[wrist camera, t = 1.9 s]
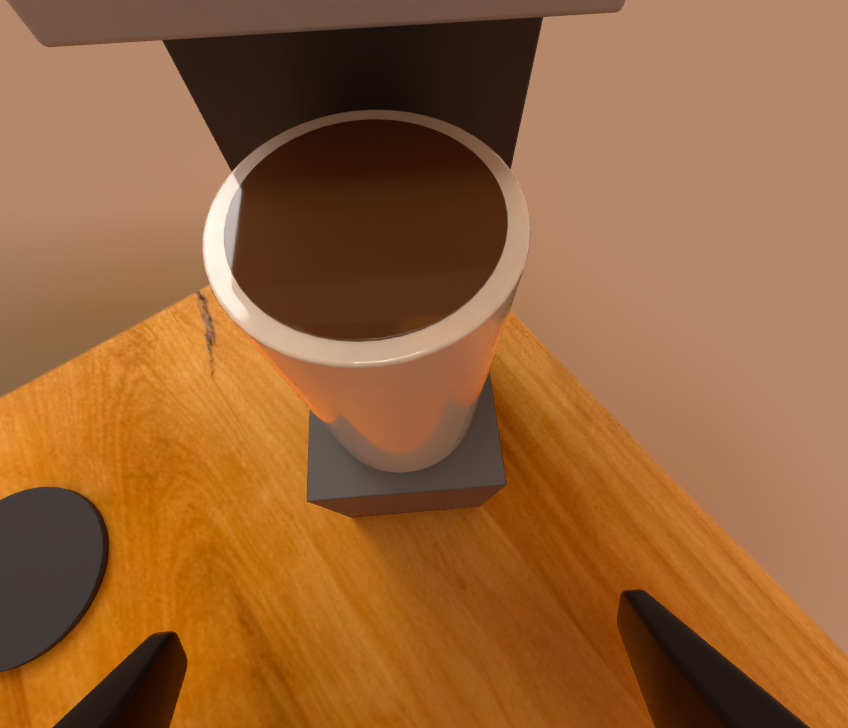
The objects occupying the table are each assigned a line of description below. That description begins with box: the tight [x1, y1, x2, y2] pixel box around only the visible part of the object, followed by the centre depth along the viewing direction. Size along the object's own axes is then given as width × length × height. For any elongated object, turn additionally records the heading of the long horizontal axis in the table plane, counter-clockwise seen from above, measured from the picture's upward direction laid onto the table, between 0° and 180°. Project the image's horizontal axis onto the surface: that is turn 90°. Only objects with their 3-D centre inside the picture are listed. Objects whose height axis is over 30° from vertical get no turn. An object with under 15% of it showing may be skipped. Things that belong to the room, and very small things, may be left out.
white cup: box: [203, 110, 531, 473], centre depth 11 cm, size 6×6×10 cm
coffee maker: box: [7, 0, 625, 517], centre depth 14 cm, size 10×7×23 cm, turn 5°
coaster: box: [0, 487, 108, 672], centre depth 21 cm, size 8×8×1 cm
